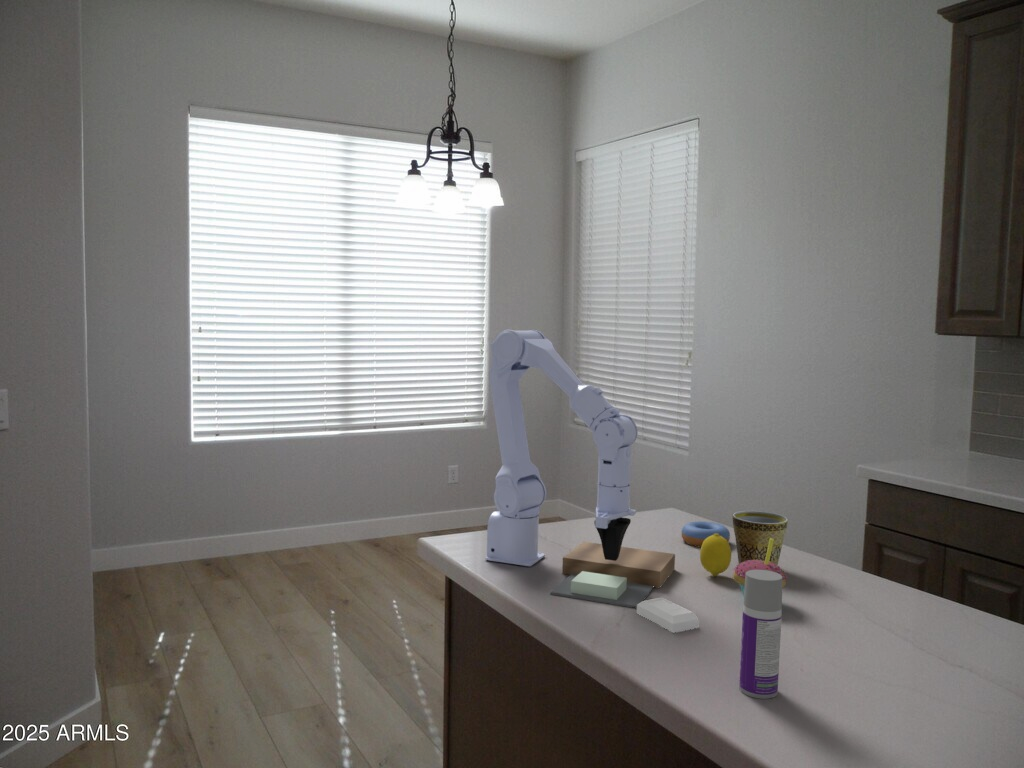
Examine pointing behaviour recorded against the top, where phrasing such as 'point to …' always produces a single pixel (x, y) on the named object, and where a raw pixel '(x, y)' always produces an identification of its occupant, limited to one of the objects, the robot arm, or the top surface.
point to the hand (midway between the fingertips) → (611, 559)
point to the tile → (598, 585)
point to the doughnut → (702, 532)
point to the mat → (628, 598)
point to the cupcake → (757, 568)
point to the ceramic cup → (758, 534)
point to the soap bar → (668, 614)
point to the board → (621, 564)
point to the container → (761, 634)
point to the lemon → (715, 554)
